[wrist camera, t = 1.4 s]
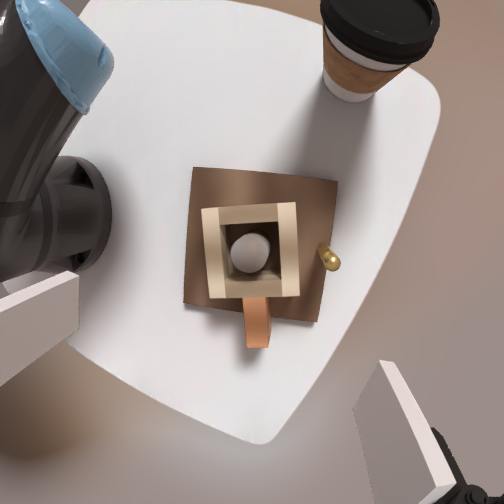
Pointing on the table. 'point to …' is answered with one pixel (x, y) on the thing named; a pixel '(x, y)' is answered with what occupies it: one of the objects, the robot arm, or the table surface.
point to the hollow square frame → (257, 283)
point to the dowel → (328, 257)
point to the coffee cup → (373, 42)
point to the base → (262, 193)
